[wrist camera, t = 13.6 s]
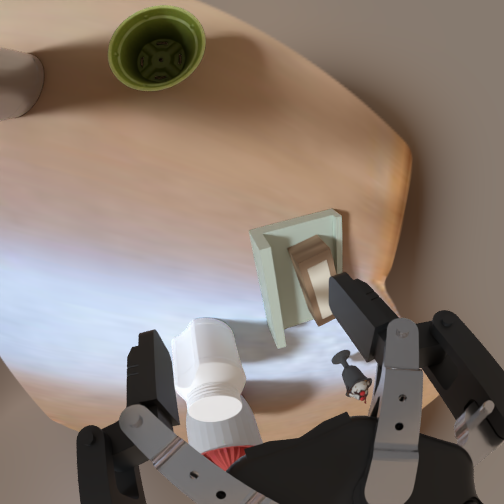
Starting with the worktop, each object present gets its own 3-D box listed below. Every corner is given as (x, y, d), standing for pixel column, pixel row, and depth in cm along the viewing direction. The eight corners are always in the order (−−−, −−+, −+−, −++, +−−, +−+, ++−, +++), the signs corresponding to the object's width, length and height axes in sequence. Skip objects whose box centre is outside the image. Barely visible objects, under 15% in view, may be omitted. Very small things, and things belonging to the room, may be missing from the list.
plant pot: (125, 31, 24) (110, 12, 17) (200, 24, 26) (207, 2, 19) (123, 99, 29) (107, 97, 22) (199, 91, 31) (204, 87, 24)
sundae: (335, 348, 61) (364, 398, 49) (357, 346, 64) (387, 392, 51) (323, 367, 64) (349, 415, 52) (345, 364, 66) (372, 409, 54)
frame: (286, 248, 42) (298, 264, 39) (316, 234, 43) (330, 248, 39) (308, 310, 50) (319, 327, 46) (333, 297, 50) (345, 313, 46)
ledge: (334, 303, 54) (348, 323, 49) (268, 325, 52) (277, 349, 47) (332, 208, 43) (352, 224, 38) (248, 230, 42) (259, 250, 37)
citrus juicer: (161, 395, 56) (169, 475, 39) (230, 368, 56) (253, 454, 39) (197, 420, 64) (210, 488, 48) (257, 398, 64) (281, 467, 48)
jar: (202, 309, 47) (215, 382, 34) (242, 332, 52) (264, 399, 39) (163, 347, 49) (167, 417, 36) (203, 365, 54) (215, 430, 41)
